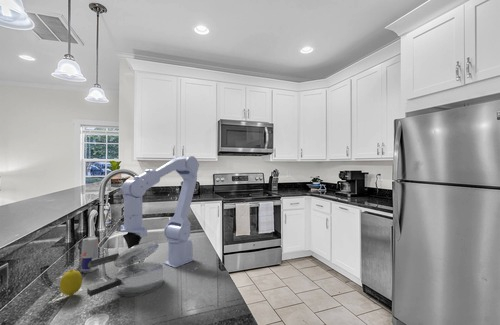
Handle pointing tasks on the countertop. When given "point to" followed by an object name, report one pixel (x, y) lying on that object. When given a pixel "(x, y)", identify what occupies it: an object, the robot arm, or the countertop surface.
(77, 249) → the countertop surface
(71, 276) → the lemon
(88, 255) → the energy drink
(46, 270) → the countertop surface
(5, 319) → the countertop surface
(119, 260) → the lid
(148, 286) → the pot
